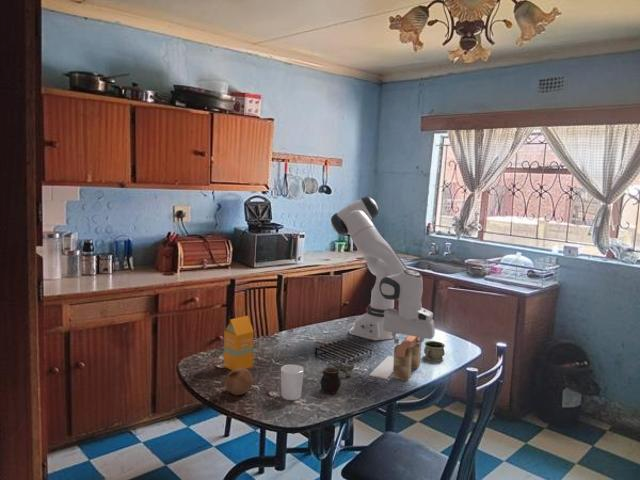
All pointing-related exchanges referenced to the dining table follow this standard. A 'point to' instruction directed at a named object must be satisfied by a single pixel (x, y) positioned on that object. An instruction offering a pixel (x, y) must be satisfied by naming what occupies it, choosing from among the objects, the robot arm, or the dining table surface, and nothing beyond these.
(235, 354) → the orange juice
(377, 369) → the mat
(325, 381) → the mate gourd
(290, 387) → the white cup
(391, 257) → the robot arm
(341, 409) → the dining table surface
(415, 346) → the post far
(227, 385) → the onion
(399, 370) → the post near
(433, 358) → the vessel
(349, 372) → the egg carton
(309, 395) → the dining table surface
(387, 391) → the dining table surface
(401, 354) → the rail
